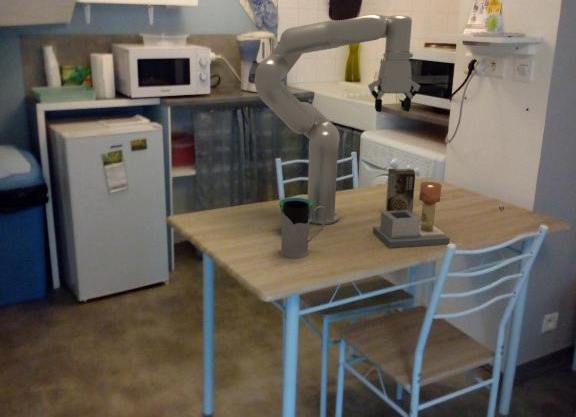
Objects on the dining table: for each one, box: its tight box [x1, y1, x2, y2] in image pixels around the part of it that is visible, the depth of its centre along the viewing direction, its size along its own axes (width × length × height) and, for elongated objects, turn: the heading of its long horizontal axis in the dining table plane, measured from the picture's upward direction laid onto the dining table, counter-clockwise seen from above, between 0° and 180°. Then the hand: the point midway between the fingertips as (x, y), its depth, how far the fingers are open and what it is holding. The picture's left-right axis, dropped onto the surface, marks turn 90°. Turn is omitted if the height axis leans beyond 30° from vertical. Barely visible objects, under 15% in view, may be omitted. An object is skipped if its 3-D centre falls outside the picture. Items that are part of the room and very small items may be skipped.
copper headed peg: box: [419, 181, 442, 232], centre depth 197 cm, size 6×6×15 cm
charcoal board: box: [372, 223, 451, 249], centre depth 198 cm, size 20×14×2 cm
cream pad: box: [419, 225, 446, 237], centre depth 199 cm, size 8×9×1 cm
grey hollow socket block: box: [379, 210, 421, 239], centre depth 196 cm, size 9×9×6 cm
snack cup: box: [278, 197, 313, 220], centre depth 200 cm, size 16×10×10 cm
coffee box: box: [385, 168, 416, 213], centre depth 219 cm, size 9×6×16 cm
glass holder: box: [279, 201, 327, 259], centre depth 183 cm, size 9×14×15 cm, turn 111°
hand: (392, 111), depth 200 cm, fingers open, 9 cm apart
